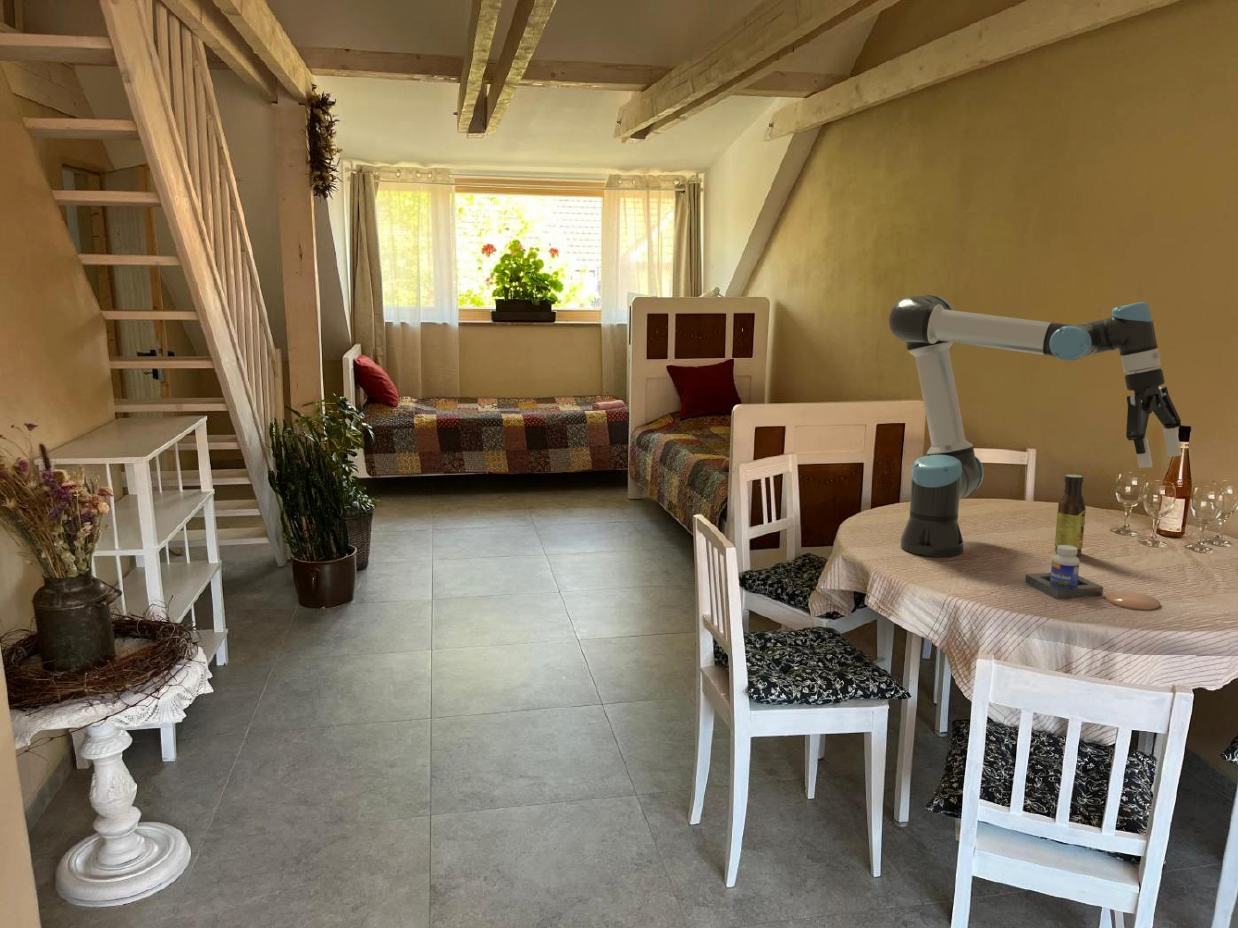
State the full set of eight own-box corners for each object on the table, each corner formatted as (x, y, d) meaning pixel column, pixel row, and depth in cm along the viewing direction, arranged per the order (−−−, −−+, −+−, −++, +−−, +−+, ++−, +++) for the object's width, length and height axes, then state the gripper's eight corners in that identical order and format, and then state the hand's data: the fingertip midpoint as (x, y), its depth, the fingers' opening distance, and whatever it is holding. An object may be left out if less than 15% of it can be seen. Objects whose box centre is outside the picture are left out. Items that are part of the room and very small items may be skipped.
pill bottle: (1045, 589, 196) (1049, 547, 194) (1054, 583, 200) (1058, 542, 198) (1071, 595, 193) (1075, 552, 191) (1080, 589, 196) (1084, 547, 194)
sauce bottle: (1084, 557, 218) (1093, 479, 214) (1057, 556, 220) (1065, 478, 216) (1077, 550, 225) (1084, 473, 221) (1050, 548, 226) (1057, 472, 222)
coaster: (1094, 595, 192) (1094, 592, 192) (1134, 591, 194) (1134, 589, 194) (1129, 611, 183) (1129, 609, 183) (1170, 608, 185) (1171, 605, 185)
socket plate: (1024, 582, 201) (1025, 574, 200) (1067, 579, 203) (1068, 571, 202) (1057, 599, 190) (1058, 590, 190) (1102, 595, 192) (1103, 586, 192)
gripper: (1131, 375, 192) (1150, 470, 193) (1186, 360, 205) (1203, 449, 206) (1097, 381, 198) (1116, 473, 199) (1152, 366, 212) (1169, 453, 212)
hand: (1160, 461), depth 202 cm, fingers open, 13 cm apart
